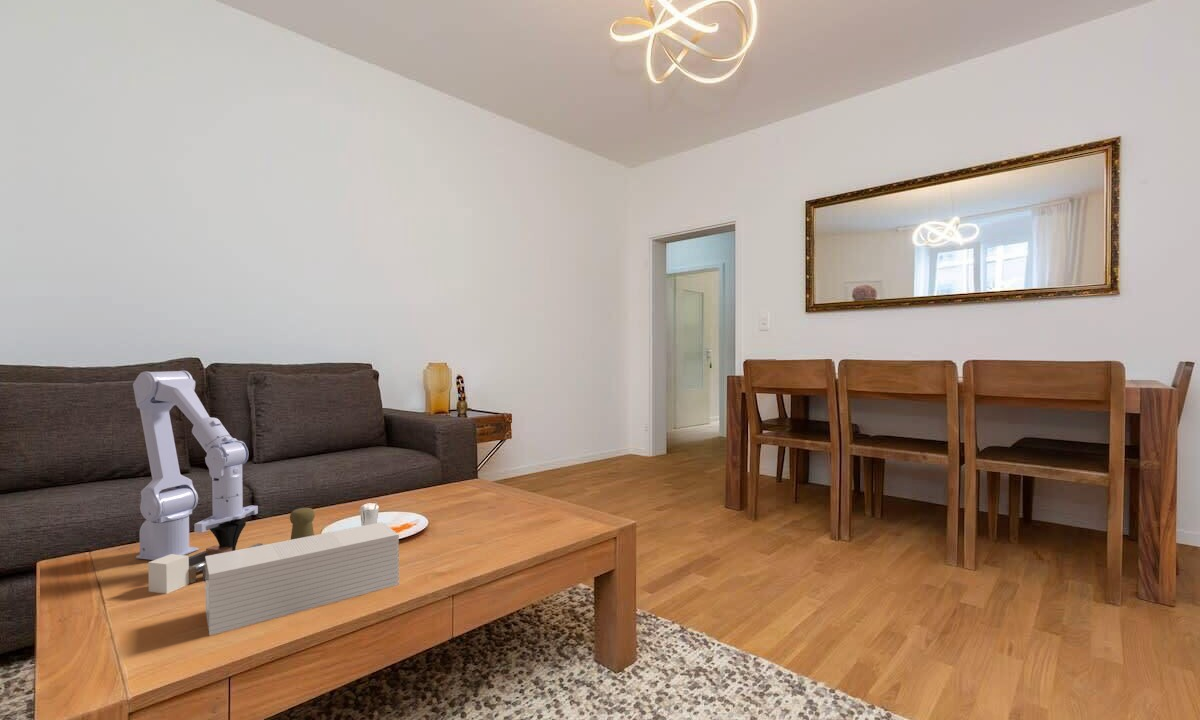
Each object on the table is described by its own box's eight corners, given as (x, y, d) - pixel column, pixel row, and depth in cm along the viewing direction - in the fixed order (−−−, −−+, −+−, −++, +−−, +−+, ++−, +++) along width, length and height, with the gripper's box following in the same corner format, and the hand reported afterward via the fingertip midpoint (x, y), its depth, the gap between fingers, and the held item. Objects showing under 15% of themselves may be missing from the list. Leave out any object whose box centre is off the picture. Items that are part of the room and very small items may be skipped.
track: (173, 576, 116) (173, 562, 116) (231, 553, 130) (231, 540, 130) (207, 580, 114) (207, 566, 114) (262, 556, 128) (262, 543, 128)
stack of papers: (382, 569, 120) (382, 521, 120) (399, 585, 112) (398, 534, 112) (205, 613, 100) (205, 556, 100) (209, 637, 92) (208, 574, 92)
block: (148, 591, 109) (148, 562, 109) (171, 582, 113) (171, 554, 113) (166, 593, 108) (166, 564, 108) (188, 584, 112) (188, 555, 112)
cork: (304, 560, 125) (303, 513, 125) (282, 558, 126) (281, 511, 126) (322, 550, 131) (322, 506, 131) (301, 549, 132) (300, 504, 132)
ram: (168, 580, 113) (168, 561, 113) (212, 562, 123) (212, 545, 123) (191, 583, 112) (191, 564, 112) (234, 564, 122) (233, 547, 122)
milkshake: (368, 543, 136) (368, 504, 136) (356, 539, 139) (355, 501, 139) (384, 538, 140) (384, 500, 140) (371, 534, 143) (371, 497, 143)
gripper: (212, 504, 116) (213, 567, 116) (268, 488, 130) (268, 544, 130) (186, 502, 117) (187, 564, 117) (244, 486, 131) (244, 542, 132)
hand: (228, 553), depth 124 cm, fingers closed
